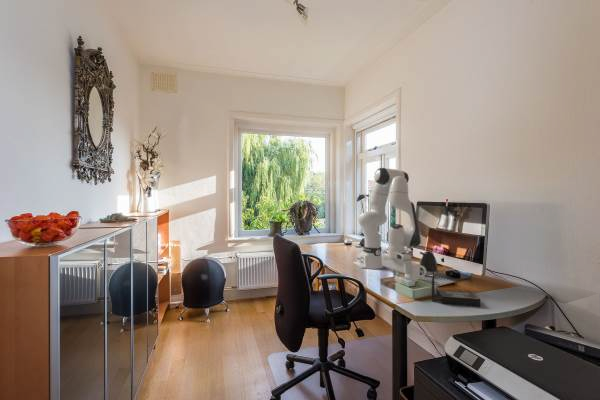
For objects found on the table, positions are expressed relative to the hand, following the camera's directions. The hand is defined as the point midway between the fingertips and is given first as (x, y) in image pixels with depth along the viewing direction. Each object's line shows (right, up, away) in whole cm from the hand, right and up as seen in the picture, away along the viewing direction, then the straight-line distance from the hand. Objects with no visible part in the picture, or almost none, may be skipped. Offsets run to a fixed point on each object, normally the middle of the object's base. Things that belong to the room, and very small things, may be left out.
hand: (396, 277), depth 162 cm
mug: (+15, -4, +9) cm, 18 cm away
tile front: (+4, -1, -8) cm, 9 cm away
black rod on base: (+19, -5, -24) cm, 31 cm away
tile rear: (+2, -1, -4) cm, 4 cm away
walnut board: (+1, -4, -1) cm, 4 cm away
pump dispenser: (+27, -4, +19) cm, 33 cm away
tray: (+6, -4, -13) cm, 15 cm away
